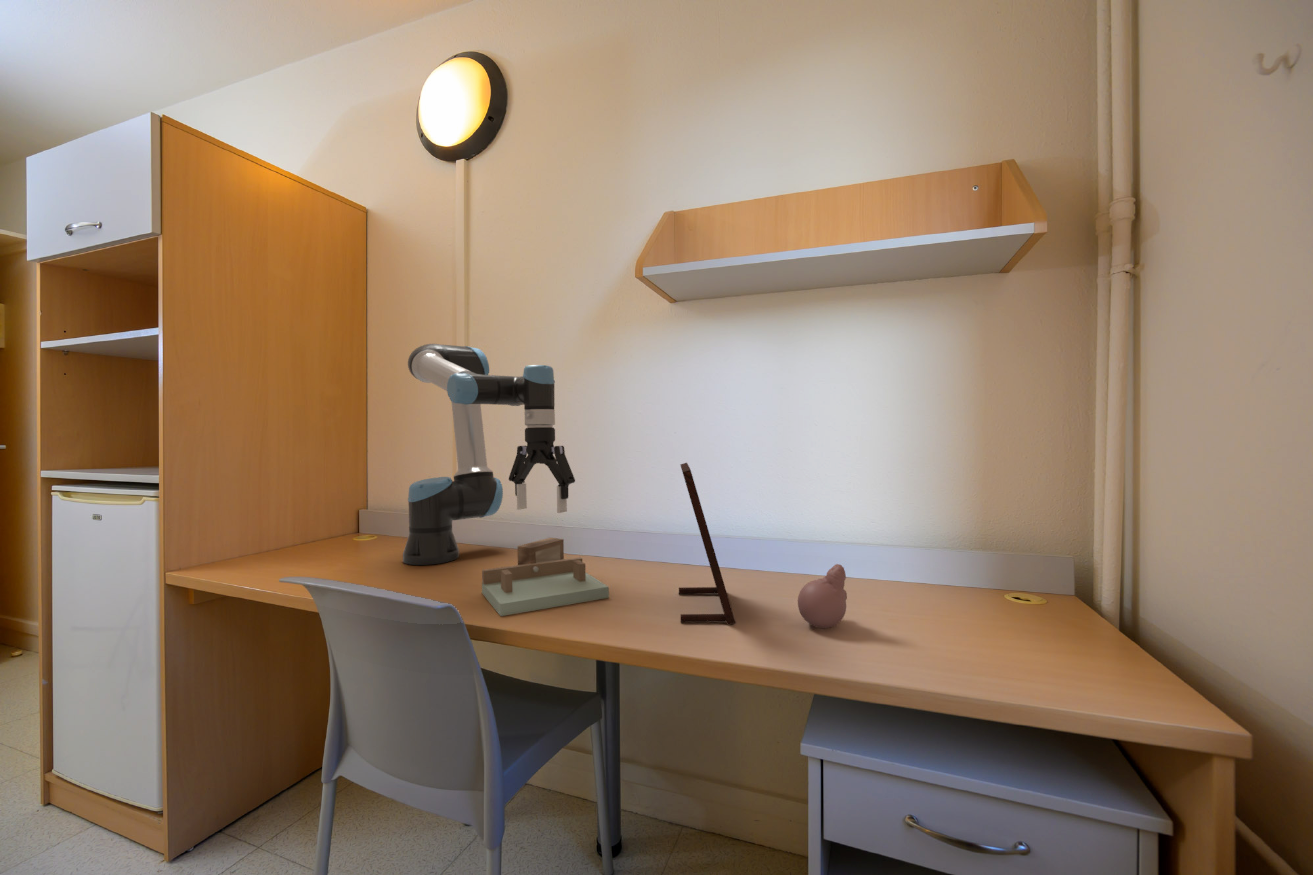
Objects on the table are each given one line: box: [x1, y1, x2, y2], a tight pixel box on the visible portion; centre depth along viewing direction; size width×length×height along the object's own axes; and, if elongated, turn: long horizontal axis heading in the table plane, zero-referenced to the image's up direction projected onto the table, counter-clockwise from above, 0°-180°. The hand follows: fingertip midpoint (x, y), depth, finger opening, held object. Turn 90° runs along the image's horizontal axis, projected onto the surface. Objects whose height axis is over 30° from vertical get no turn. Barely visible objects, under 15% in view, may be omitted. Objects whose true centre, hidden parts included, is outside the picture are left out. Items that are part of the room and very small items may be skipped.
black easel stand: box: [678, 462, 736, 626], centre depth 117 cm, size 21×11×30 cm, turn 179°
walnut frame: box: [517, 537, 565, 565], centre depth 142 cm, size 5×12×9 cm, turn 149°
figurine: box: [797, 563, 848, 629], centre depth 107 cm, size 9×11×12 cm
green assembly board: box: [481, 556, 610, 617], centre depth 127 cm, size 18×24×6 cm
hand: (541, 510), depth 141 cm, fingers open, 13 cm apart
